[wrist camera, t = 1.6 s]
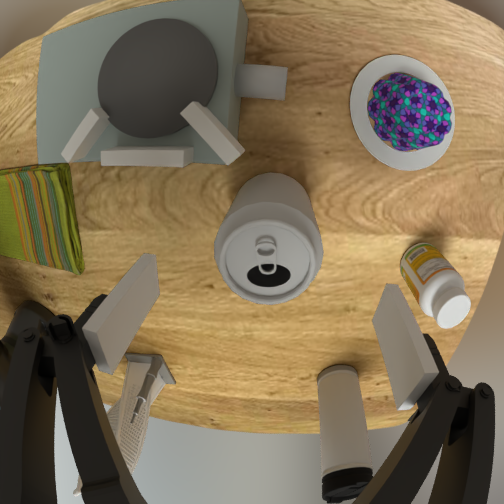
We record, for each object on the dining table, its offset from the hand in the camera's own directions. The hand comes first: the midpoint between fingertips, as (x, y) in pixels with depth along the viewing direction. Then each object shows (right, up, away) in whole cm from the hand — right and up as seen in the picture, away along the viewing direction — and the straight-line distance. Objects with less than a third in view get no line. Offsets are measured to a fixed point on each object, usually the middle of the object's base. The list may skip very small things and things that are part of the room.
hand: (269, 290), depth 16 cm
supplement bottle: (+19, +1, +14) cm, 24 cm away
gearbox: (-10, +19, +8) cm, 22 cm away
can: (+1, +7, +13) cm, 15 cm away
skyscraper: (-18, -18, +28) cm, 38 cm away
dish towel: (-41, +8, +18) cm, 45 cm away
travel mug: (+12, -17, +24) cm, 32 cm away
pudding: (+14, +16, +7) cm, 23 cm away
